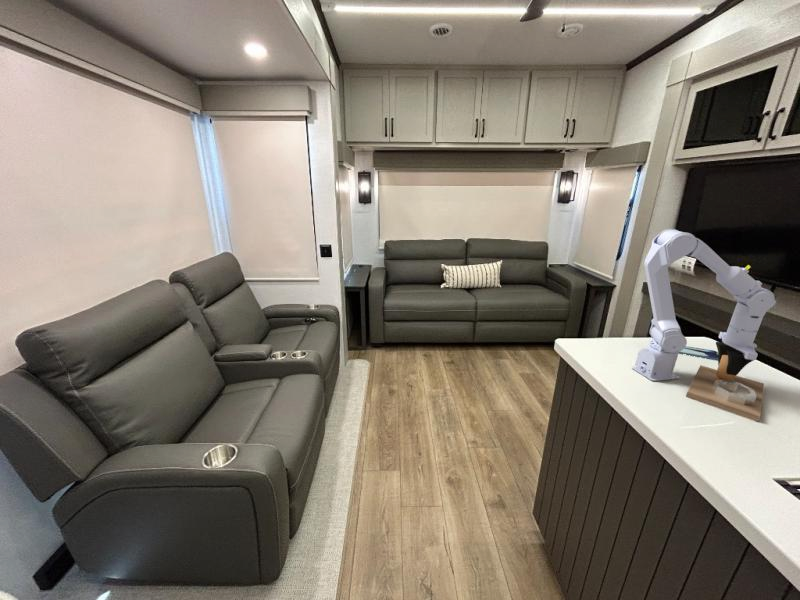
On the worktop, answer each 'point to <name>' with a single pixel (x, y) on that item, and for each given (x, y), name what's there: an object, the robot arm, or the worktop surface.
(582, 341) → the worktop surface
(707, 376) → the mount board
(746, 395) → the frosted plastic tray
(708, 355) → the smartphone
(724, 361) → the orange rounded cylinder
